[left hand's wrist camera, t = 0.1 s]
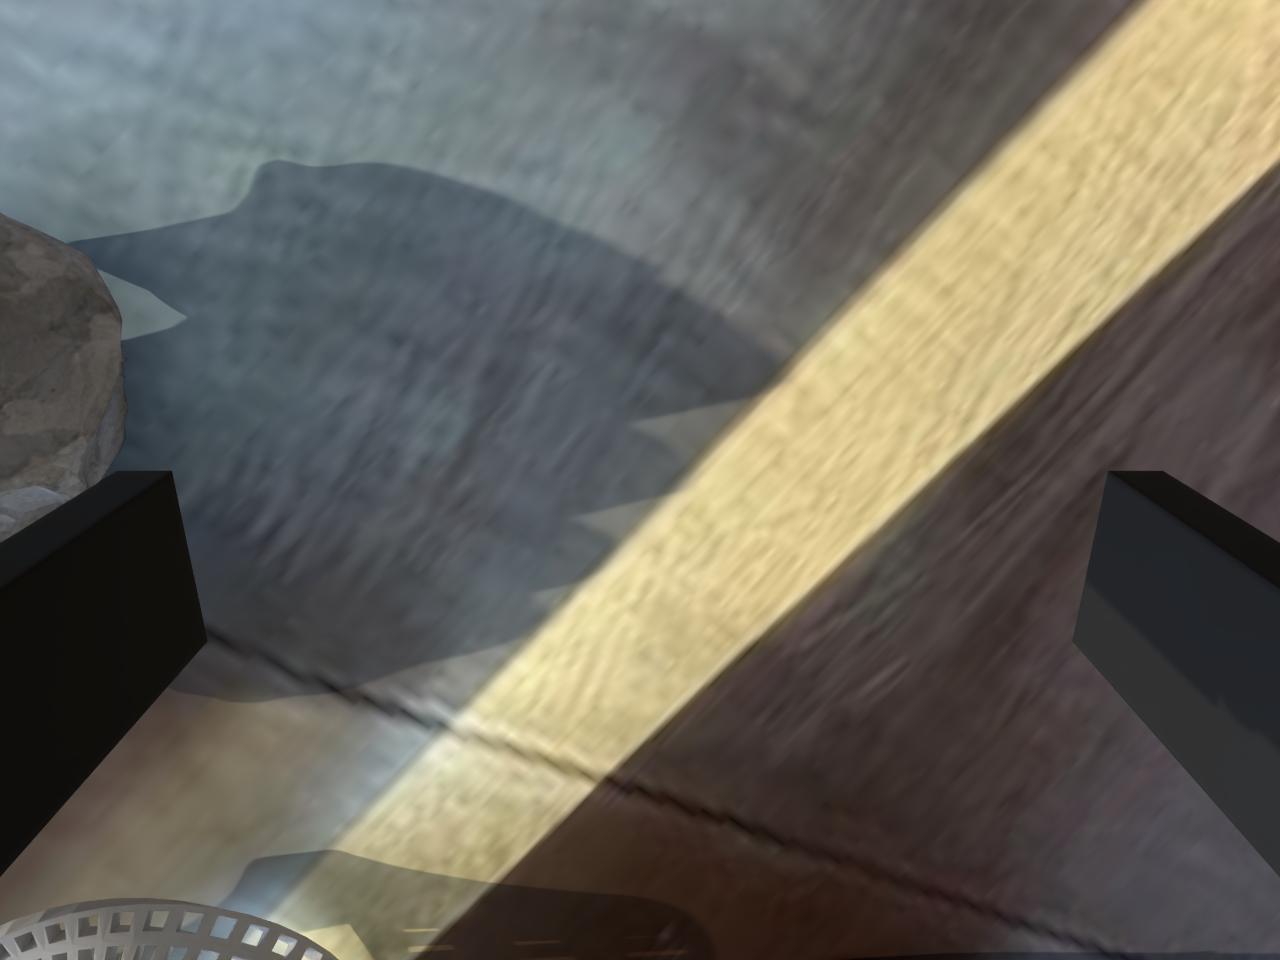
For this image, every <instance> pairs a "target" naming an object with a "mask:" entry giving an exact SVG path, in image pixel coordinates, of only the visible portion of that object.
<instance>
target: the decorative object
mask: <svg viewBox="0 0 1280 960" xmlns="http://www.w3.org/2000/svg"><path fill="white" fill-rule="evenodd" d="M131 911H134V915H133V918H132V922H131V925H120V915H121V912H131ZM153 911H170V912H169V915H168V917H167V920H166V923H165V925H164V928H160V927H151V926H150V923H151V919H152V914H153ZM186 912H194V913H204V914H205V915H204V917H203V919H202V921H201V923H200V925H199V927H198V929H197V932H196V933H193V932H187V931H182V930H180V928H181V925H182V922H183V919H184V916H185V914H186ZM95 915H99V919H98V926H91V927H90V923H89V917H90V916H95ZM218 916H221V917H224V918H228V919H231V920H235V921H236V922H235V924H234V926H233V928H232V930H231V932H230V935H229V937H228V939H223V938H218V937H212V936H210V933H211V931H212V929H213V926H214V924H215V922H216V920H217V918H218ZM61 922H65V930H61V929H60V926H59V923H61ZM249 926H251V927H254V928H256V929H258V930H261V931H263V934H262V936H261V938H260V940H259V942H258V944H257V946H253V945H249V944H246V943H242V942H241V941H242V939H243V937H244V935H245V933H246V932H247V930H248V928H249ZM31 931H32V933H33V935H32V933H31ZM278 939H279V940H281V941H283V942H285V943H286V944H288V947H287V949H286V951H285V953H284V956H282V955H280V954H277V953H275V952H272V949H273V947H274V945H275V944H276V942H277V940H278ZM117 946H125V948H124V951H123V955H122V958H121V959H116V955H117ZM145 946H156V948H155V950H154V953H153V955H152V957H151V960H169V959H170V956H171V953H172V950H173V948H174V947H183V948H188V950H187V952H186V954H185V956H184V958H183V960H199V959H200V956H201V954H202V952H203V950H204V951H208V952H212V953H215V954H219V956H218V958H217V960H231V958H232V959H235V960H301V959H302V957H303V955H304V956H306V957H307V958H309V959H310V960H338V959H337V958H336V957H335V956H334V955H333V954H332V953H330V952H329V951H327V950H326V949H324V948H323V947H321V946H320V945H318V944H316V943H315V942H313V941H312V940H310V939H309V938H307V937H305V936H303V935H301V934H299V933H296V932H294V931H292V930H290V929H288V928H286V927H283V926H281V925H279V924H276V923H273V922H270V921H267V920H264V919H261V918H258V917H255V916H251V915H248V914H243V913H239V912H234V911H229V910H224V909H220V908H216V907H212V906H207V905H201V904H196V903H191V902H185V901H177V900H165V899H154V898H116V899H106V900H97V901H87V902H79V903H75V904H70V905H65V906H60V907H55V908H51V909H46V910H43V911H40V912H37V913H33V914H30V915H27V916H24V917H21V918H18V919H14V920H12V921H10V922H8V923H5V924H3V925H1V926H0V960H142V956H143V952H144V947H145ZM92 948H95V953H94V958H92Z"/></svg>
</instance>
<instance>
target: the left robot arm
mask: <svg viewBox="0 0 1280 960" xmlns="http://www.w3.org/2000/svg"><path fill="white" fill-rule="evenodd" d="M206 642H207V636H206V632H205V627H204V622H203V617H202V613H201V608H200V603H199V598H198V594H197V589H196V584H195V579H194V575H193V570H192V565H191V560H190V555H189V551H188V546H187V541H186V536H185V532H184V527H183V522H182V517H181V513H180V508H179V503H178V498H177V493H176V489H175V484H174V479H173V474H172V471H116V472H115V473H113V474H111V475H110V476H108V477H106V478H105V479H103V480H102V481H100V482H98V483H97V484H95V485H93V486H92V487H90V488H89V489H87V490H85V491H84V492H82V493H80V494H79V495H77V496H76V497H74V498H72V499H71V500H69V501H67V502H66V503H64V504H63V505H61V506H59V507H58V508H56V509H54V510H53V511H51V512H50V513H48V514H46V515H45V516H43V517H41V518H40V519H38V520H37V521H35V522H33V523H32V524H30V525H28V526H27V527H25V528H24V529H22V530H20V531H19V532H17V533H15V534H14V535H12V536H11V537H9V538H7V539H6V540H4V541H2V542H1V543H0V877H1V875H2V874H3V873H4V872H5V871H6V870H7V869H8V867H9V866H10V865H11V864H12V863H13V862H14V861H15V860H16V858H17V857H18V856H19V855H20V854H21V853H22V852H23V850H24V849H25V848H26V847H27V846H28V845H29V844H30V842H31V841H32V840H33V839H34V838H35V837H36V836H37V834H38V833H39V832H40V831H41V830H42V829H43V828H44V827H45V825H46V824H47V823H48V822H49V821H50V820H51V819H52V817H53V816H54V815H55V814H56V813H57V812H58V811H59V809H60V808H61V807H62V806H63V805H64V804H65V803H66V802H67V800H68V799H69V798H70V797H71V796H72V795H73V794H74V792H75V791H76V790H77V789H78V788H79V787H80V786H81V784H82V783H83V782H84V781H85V780H86V779H87V778H88V776H89V775H90V774H91V773H92V772H93V771H94V770H95V769H96V767H97V766H98V765H99V764H100V763H101V762H102V761H103V759H104V758H105V757H106V756H107V755H108V754H109V753H110V751H111V750H112V749H113V748H114V747H115V746H116V745H117V743H118V742H119V741H120V740H121V739H122V738H123V737H124V736H125V734H126V733H127V732H128V731H129V730H130V729H131V728H132V726H133V725H134V724H135V723H136V722H137V721H138V720H139V718H140V717H141V716H142V715H143V714H144V713H145V712H146V711H147V709H148V708H149V707H150V706H151V705H152V704H153V703H154V701H155V700H156V699H157V698H158V697H159V696H160V695H161V693H162V692H163V691H164V690H165V689H166V688H167V687H168V685H169V684H170V683H171V682H172V681H173V680H174V679H175V678H176V676H177V675H178V674H179V673H180V672H181V671H182V670H183V668H184V667H185V666H186V665H187V664H188V663H189V662H190V660H191V659H192V658H193V657H194V656H195V655H196V654H197V653H198V651H199V650H200V649H201V648H202V647H203V646H204V645H205V643H206ZM1073 642H1074V643H1075V645H1076V646H1077V647H1078V648H1079V649H1080V650H1081V651H1082V653H1083V654H1084V655H1085V656H1086V657H1087V658H1088V659H1089V660H1090V662H1091V663H1092V664H1093V665H1094V666H1095V667H1096V668H1097V670H1098V671H1099V672H1100V673H1101V674H1102V675H1103V676H1104V678H1105V679H1106V680H1107V681H1108V682H1109V683H1110V684H1111V685H1112V687H1113V688H1114V689H1115V690H1116V691H1117V692H1118V693H1119V695H1120V696H1121V697H1122V698H1123V699H1124V700H1125V701H1126V703H1127V704H1128V705H1129V706H1130V707H1131V708H1132V709H1133V711H1134V712H1135V713H1136V714H1137V715H1138V716H1139V717H1140V718H1141V720H1142V721H1143V722H1144V723H1145V724H1146V725H1147V726H1148V728H1149V729H1150V730H1151V731H1152V732H1153V733H1154V734H1155V736H1156V737H1157V738H1158V739H1159V740H1160V741H1161V742H1162V744H1163V745H1164V746H1165V747H1166V748H1167V749H1168V750H1169V751H1170V753H1171V754H1172V755H1173V756H1174V757H1175V758H1176V759H1177V761H1178V762H1179V763H1180V764H1181V765H1182V766H1183V767H1184V769H1185V770H1186V771H1187V772H1188V773H1189V774H1190V775H1191V776H1192V778H1193V779H1194V780H1195V781H1196V782H1197V783H1198V784H1199V786H1200V787H1201V788H1202V789H1203V790H1204V791H1205V792H1206V794H1207V795H1208V796H1209V797H1210V798H1211V799H1212V800H1213V802H1214V803H1215V804H1216V805H1217V806H1218V807H1219V808H1220V809H1221V811H1222V812H1223V813H1224V814H1225V815H1226V816H1227V817H1228V819H1229V820H1230V821H1231V822H1232V823H1233V824H1234V825H1235V827H1236V828H1237V829H1238V830H1239V831H1240V832H1241V833H1242V834H1243V836H1244V837H1245V838H1246V839H1247V840H1248V841H1249V842H1250V844H1251V845H1252V846H1253V847H1254V848H1255V849H1256V850H1257V852H1258V853H1259V854H1260V855H1261V856H1262V857H1263V858H1264V860H1265V861H1266V862H1267V863H1268V864H1269V865H1270V866H1271V867H1272V869H1273V870H1274V871H1275V872H1276V873H1277V874H1278V875H1279V877H1280V543H1279V542H1278V541H1276V540H1274V539H1273V538H1271V537H1269V536H1268V535H1266V534H1265V533H1263V532H1261V531H1260V530H1258V529H1256V528H1255V527H1253V526H1252V525H1250V524H1248V523H1247V522H1245V521H1243V520H1242V519H1240V518H1239V517H1237V516H1235V515H1234V514H1232V513H1230V512H1229V511H1227V510H1226V509H1224V508H1222V507H1221V506H1219V505H1217V504H1216V503H1214V502H1213V501H1211V500H1209V499H1208V498H1206V497H1204V496H1203V495H1201V494H1200V493H1198V492H1196V491H1195V490H1193V489H1191V488H1190V487H1188V486H1187V485H1185V484H1183V483H1182V482H1180V481H1178V480H1177V479H1175V478H1174V477H1172V476H1170V475H1169V474H1167V473H1165V472H1164V471H1108V474H1107V479H1106V484H1105V489H1104V493H1103V498H1102V503H1101V508H1100V513H1099V517H1098V522H1097V527H1096V532H1095V536H1094V541H1093V546H1092V551H1091V555H1090V560H1089V565H1088V570H1087V575H1086V579H1085V584H1084V589H1083V594H1082V598H1081V603H1080V608H1079V613H1078V617H1077V622H1076V627H1075V632H1074V636H1073Z"/></svg>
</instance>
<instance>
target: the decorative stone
mask: <svg viewBox="0 0 1280 960" xmlns="http://www.w3.org/2000/svg"><path fill="white" fill-rule="evenodd" d="M121 329H122V319H121V315H120V312H119V309H118V307H117V305H116V303H115V301H114V299H113V297H112V295H111V293H110V291H109V289H108V288H107V286H106V284H105V283H104V281H103V279H102V278H101V276H100V274H99V273H98V271H97V269H96V268H95V266H94V264H93V262H92V259H91V258H89V257H88V256H87V255H85V254H84V253H82V252H81V251H79V250H77V249H75V248H73V247H71V246H69V245H67V244H65V243H64V242H62V241H60V240H58V239H56V238H54V237H51V236H49V235H47V234H45V233H42V232H40V231H38V230H36V229H34V228H32V227H30V226H27V225H25V224H23V223H21V222H18V221H16V220H13V219H11V218H8V217H6V216H5V215H3V214H2V213H0V543H1V542H2V541H4V540H6V539H7V538H9V537H11V536H12V535H14V534H15V533H17V532H19V531H20V530H22V529H24V528H25V527H27V526H28V525H30V524H32V523H33V522H35V521H37V520H38V519H40V518H41V517H43V516H45V515H46V514H48V513H50V512H51V511H53V510H54V509H56V508H58V507H59V506H61V505H63V504H64V503H66V502H67V501H69V500H71V499H72V498H74V497H76V496H77V495H79V494H80V493H82V492H84V491H85V490H87V489H89V488H90V487H92V486H93V485H95V484H97V483H98V482H99V481H100V480H101V479H102V477H103V476H104V475H105V473H106V472H107V471H108V469H109V468H110V466H111V465H112V463H113V461H114V460H115V458H116V456H117V454H118V453H119V451H120V449H121V447H122V445H123V443H124V440H125V421H126V416H127V412H128V405H127V400H126V396H125V392H124V369H123V364H122V363H123V362H124V361H126V357H125V354H124V352H123V349H122V347H121V344H120V341H121Z"/></svg>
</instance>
